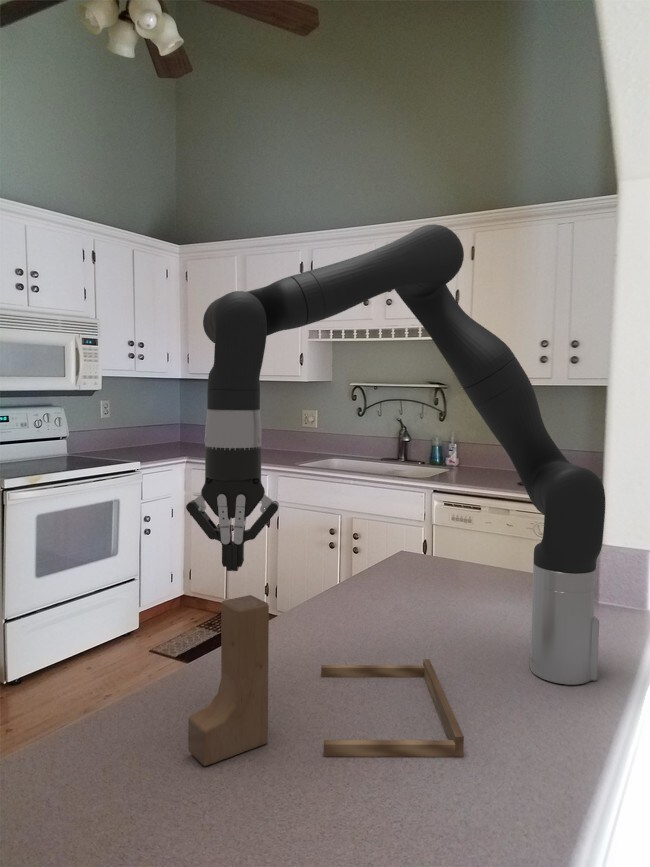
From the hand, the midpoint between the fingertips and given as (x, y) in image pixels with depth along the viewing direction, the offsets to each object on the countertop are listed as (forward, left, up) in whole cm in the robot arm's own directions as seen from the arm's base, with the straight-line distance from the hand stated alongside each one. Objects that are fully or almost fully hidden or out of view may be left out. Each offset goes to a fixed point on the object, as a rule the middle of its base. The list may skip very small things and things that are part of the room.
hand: (232, 569), depth 88 cm
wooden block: (-1, +10, -20) cm, 22 cm away
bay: (-21, 0, -20) cm, 28 cm away
